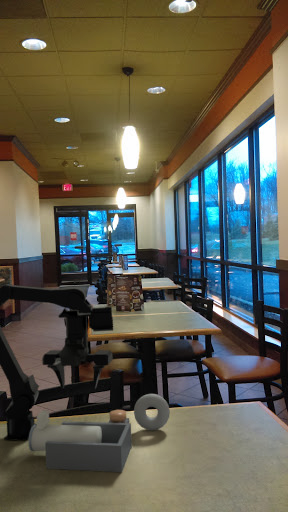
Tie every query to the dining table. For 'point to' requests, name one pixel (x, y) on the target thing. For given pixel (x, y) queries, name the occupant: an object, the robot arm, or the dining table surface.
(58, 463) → the housing
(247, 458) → the dining table surface
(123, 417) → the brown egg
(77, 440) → the cartridge
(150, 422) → the donut
